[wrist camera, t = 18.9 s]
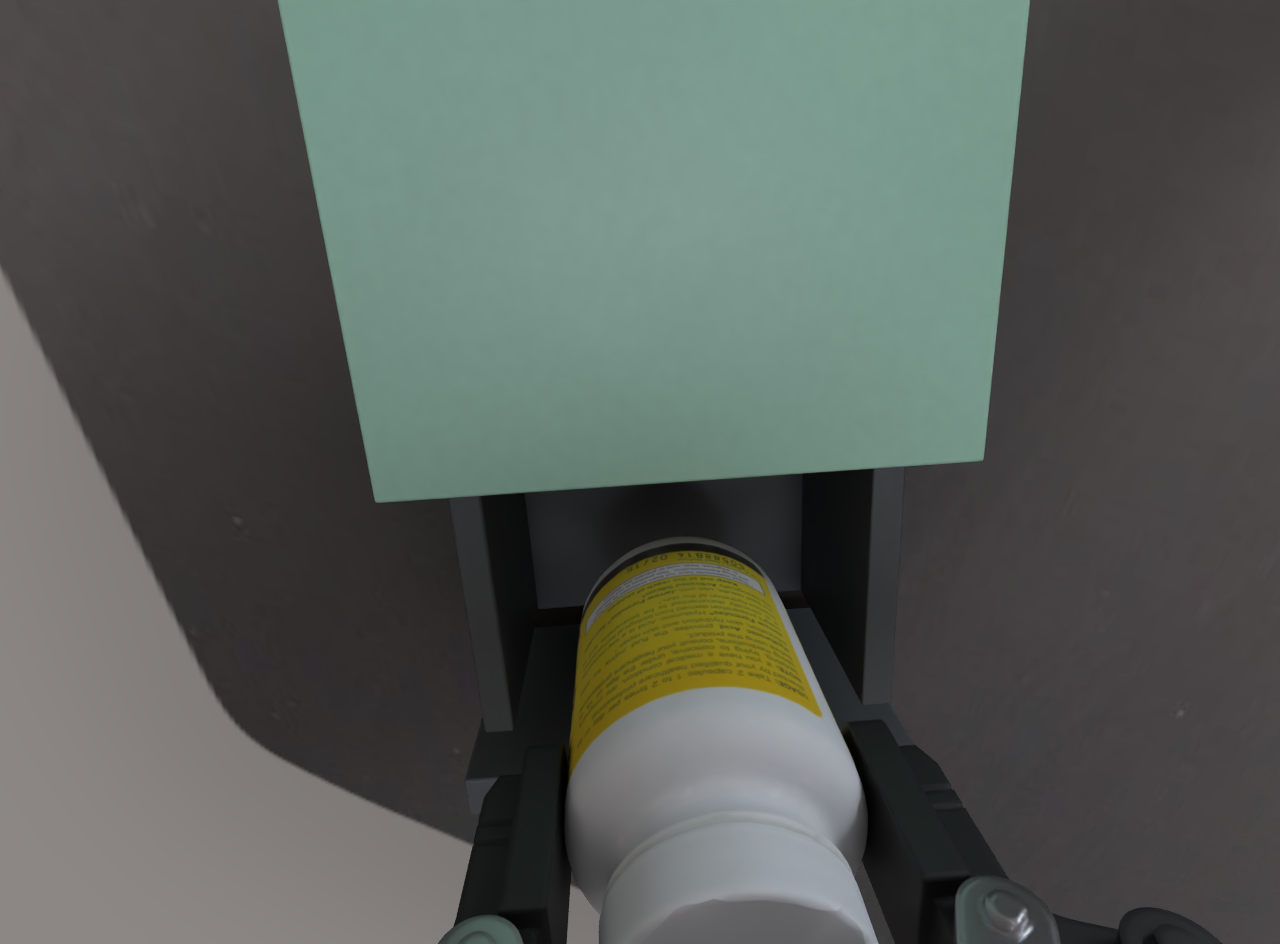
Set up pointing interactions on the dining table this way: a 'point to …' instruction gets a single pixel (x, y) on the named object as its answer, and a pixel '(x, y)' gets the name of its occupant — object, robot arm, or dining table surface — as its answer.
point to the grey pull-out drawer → (639, 514)
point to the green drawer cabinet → (660, 232)
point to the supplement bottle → (707, 762)
